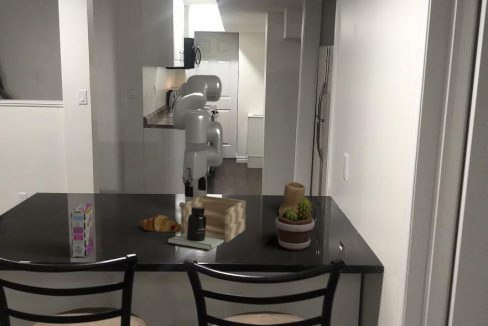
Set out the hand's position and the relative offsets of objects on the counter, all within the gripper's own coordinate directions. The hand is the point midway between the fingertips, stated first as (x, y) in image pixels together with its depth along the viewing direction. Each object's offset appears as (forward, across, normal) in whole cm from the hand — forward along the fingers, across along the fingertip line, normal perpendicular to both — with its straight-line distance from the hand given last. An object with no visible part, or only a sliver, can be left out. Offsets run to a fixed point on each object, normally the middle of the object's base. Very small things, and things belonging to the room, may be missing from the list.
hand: (195, 193), depth 171 cm
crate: (+20, -14, +1) cm, 25 cm away
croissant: (+21, -9, -20) cm, 31 cm away
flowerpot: (+20, -15, +34) cm, 42 cm away
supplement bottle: (+18, +1, 0) cm, 18 cm away
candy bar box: (+20, +23, -32) cm, 45 cm away
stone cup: (+22, -57, +20) cm, 64 cm away
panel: (+19, -5, +1) cm, 20 cm away
